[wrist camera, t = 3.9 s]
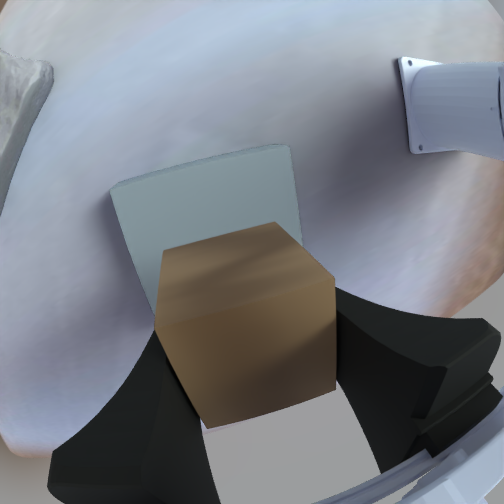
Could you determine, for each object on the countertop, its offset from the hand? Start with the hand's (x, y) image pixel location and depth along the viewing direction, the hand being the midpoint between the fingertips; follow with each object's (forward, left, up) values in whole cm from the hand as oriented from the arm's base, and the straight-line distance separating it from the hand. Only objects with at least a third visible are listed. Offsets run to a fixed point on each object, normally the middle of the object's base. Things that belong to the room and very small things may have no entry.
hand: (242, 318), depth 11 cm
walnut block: (0, -1, -2) cm, 2 cm away
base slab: (0, 0, -10) cm, 10 cm away
